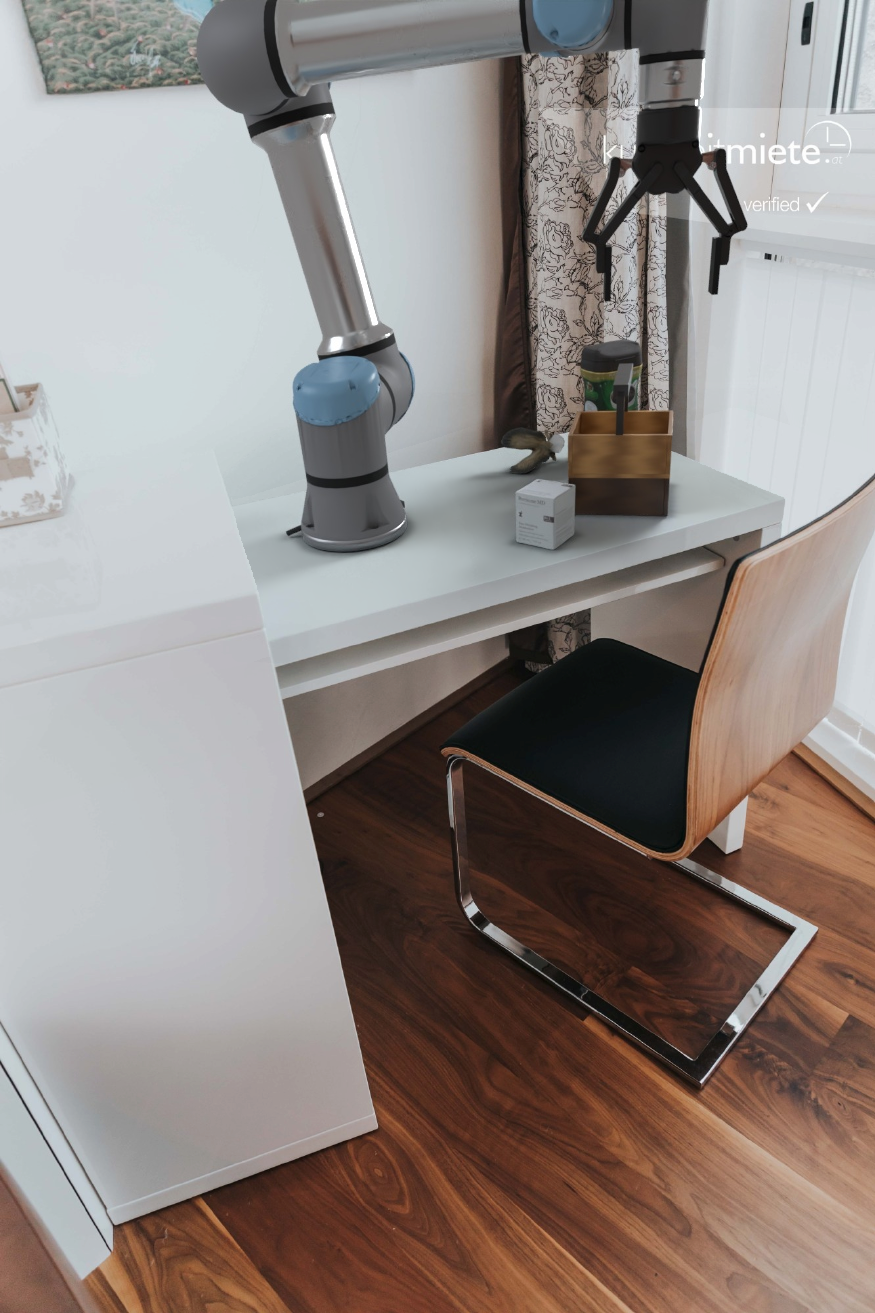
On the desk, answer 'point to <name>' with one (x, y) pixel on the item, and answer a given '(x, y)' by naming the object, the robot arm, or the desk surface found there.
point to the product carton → (545, 513)
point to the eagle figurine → (532, 447)
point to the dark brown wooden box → (621, 496)
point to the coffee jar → (609, 373)
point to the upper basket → (620, 439)
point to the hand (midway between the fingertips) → (659, 296)
